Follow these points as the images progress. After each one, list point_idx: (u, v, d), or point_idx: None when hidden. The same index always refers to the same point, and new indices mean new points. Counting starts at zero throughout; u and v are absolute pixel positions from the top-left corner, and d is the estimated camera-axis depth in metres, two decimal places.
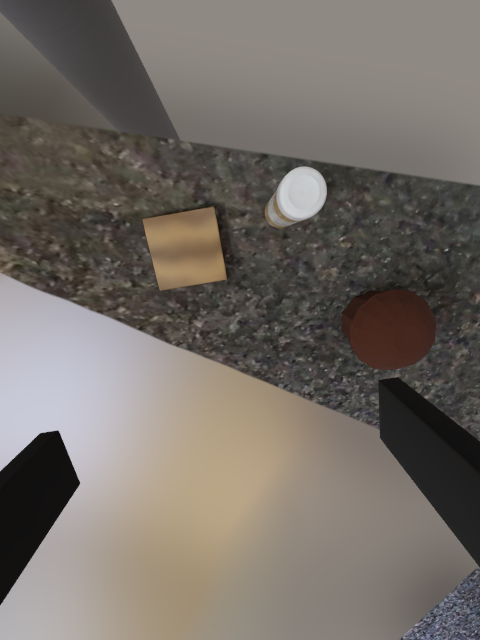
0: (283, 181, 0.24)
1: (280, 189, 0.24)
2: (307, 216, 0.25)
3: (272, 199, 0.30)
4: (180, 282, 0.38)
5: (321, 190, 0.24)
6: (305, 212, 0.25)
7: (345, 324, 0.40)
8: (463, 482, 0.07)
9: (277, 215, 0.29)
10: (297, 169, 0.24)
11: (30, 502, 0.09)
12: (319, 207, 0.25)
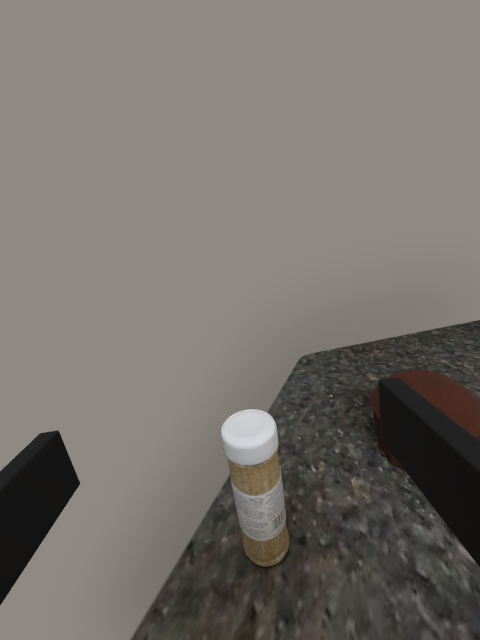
0: (228, 441, 0.20)
1: (235, 445, 0.19)
2: (274, 424, 0.21)
3: (244, 502, 0.21)
4: None
5: (251, 411, 0.23)
6: (269, 425, 0.21)
7: None
8: (463, 482, 0.07)
9: (266, 493, 0.21)
10: (222, 428, 0.21)
11: (30, 502, 0.09)
12: (267, 414, 0.22)
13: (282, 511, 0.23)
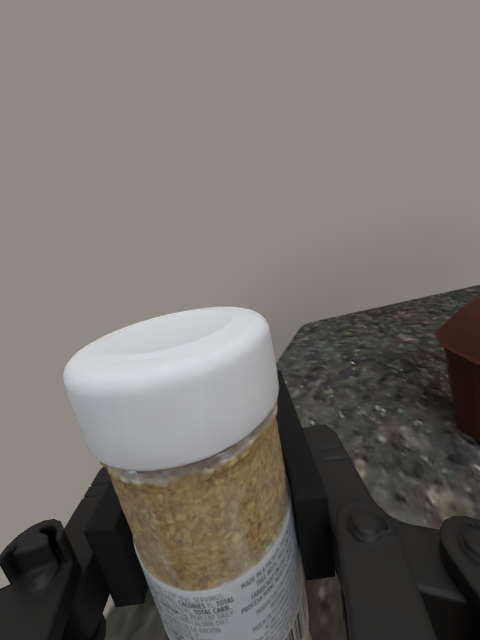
0: (70, 374, 0.05)
1: (87, 385, 0.04)
2: (262, 320, 0.06)
3: (166, 608, 0.06)
4: None
5: None
6: (245, 320, 0.06)
7: None
8: None
9: (242, 575, 0.05)
10: (86, 347, 0.06)
11: None
12: (242, 308, 0.07)
13: (300, 611, 0.07)
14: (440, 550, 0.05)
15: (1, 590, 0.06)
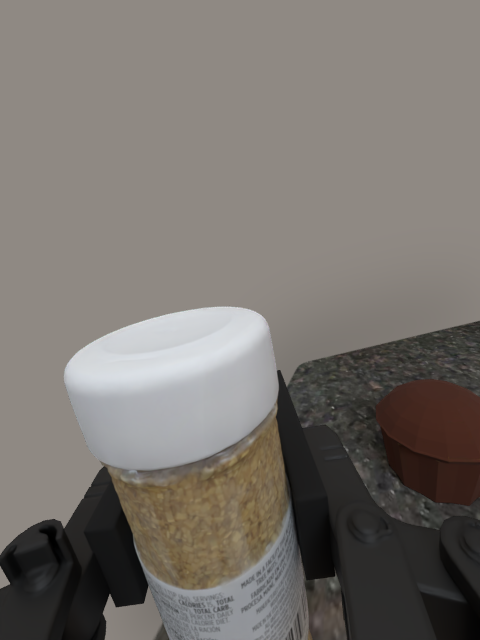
0: (70, 373, 0.05)
1: (87, 384, 0.04)
2: (262, 320, 0.06)
3: (167, 607, 0.06)
4: None
5: None
6: (245, 320, 0.06)
7: (454, 491, 0.25)
8: None
9: (242, 574, 0.05)
10: None
11: None
12: (242, 308, 0.07)
13: (300, 611, 0.07)
14: (440, 551, 0.05)
15: (1, 590, 0.06)
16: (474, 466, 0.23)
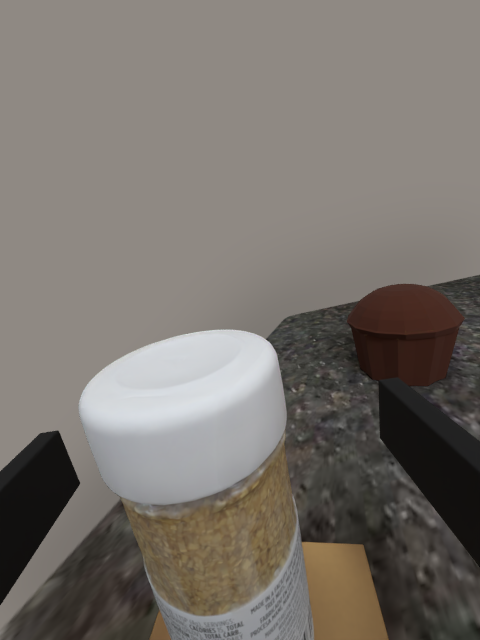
0: (86, 408, 0.05)
1: (104, 422, 0.04)
2: (270, 350, 0.06)
3: (177, 631, 0.06)
4: None
5: (203, 333, 0.08)
6: (255, 350, 0.06)
7: (414, 372, 0.27)
8: (463, 482, 0.07)
9: (252, 600, 0.06)
10: (98, 374, 0.06)
11: (30, 502, 0.09)
12: (250, 333, 0.07)
13: (306, 630, 0.07)
14: None
15: None
16: (429, 340, 0.26)
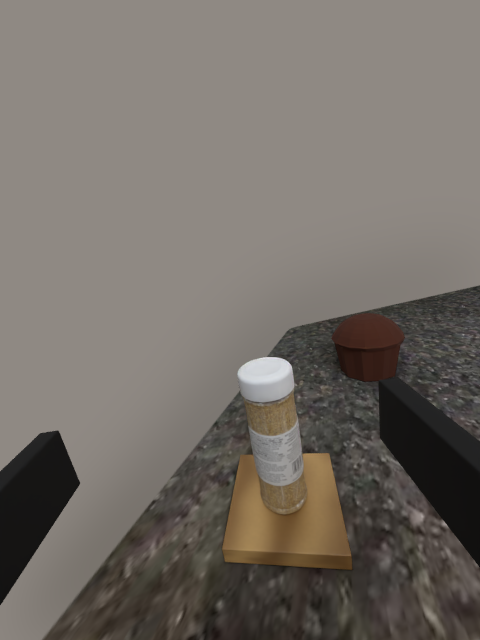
0: (246, 380, 0.20)
1: (253, 382, 0.20)
2: (289, 365, 0.21)
3: (263, 445, 0.21)
4: (334, 512, 0.23)
5: (265, 358, 0.23)
6: (285, 365, 0.21)
7: (373, 372, 0.43)
8: (463, 482, 0.07)
9: (285, 432, 0.21)
10: (239, 372, 0.22)
11: (30, 502, 0.09)
12: (282, 359, 0.23)
13: (300, 456, 0.23)
14: None
15: None
16: (380, 352, 0.41)
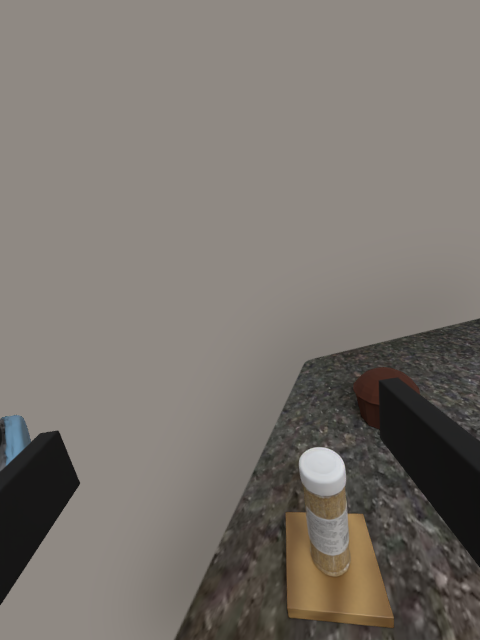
0: (310, 477, 0.25)
1: (317, 481, 0.25)
2: (342, 461, 0.27)
3: (321, 525, 0.27)
4: (374, 575, 0.28)
5: (319, 449, 0.28)
6: (339, 461, 0.26)
7: None
8: (463, 482, 0.07)
9: (339, 516, 0.26)
10: (301, 465, 0.27)
11: (30, 502, 0.09)
12: (333, 452, 0.28)
13: (347, 530, 0.28)
14: None
15: None
16: None
